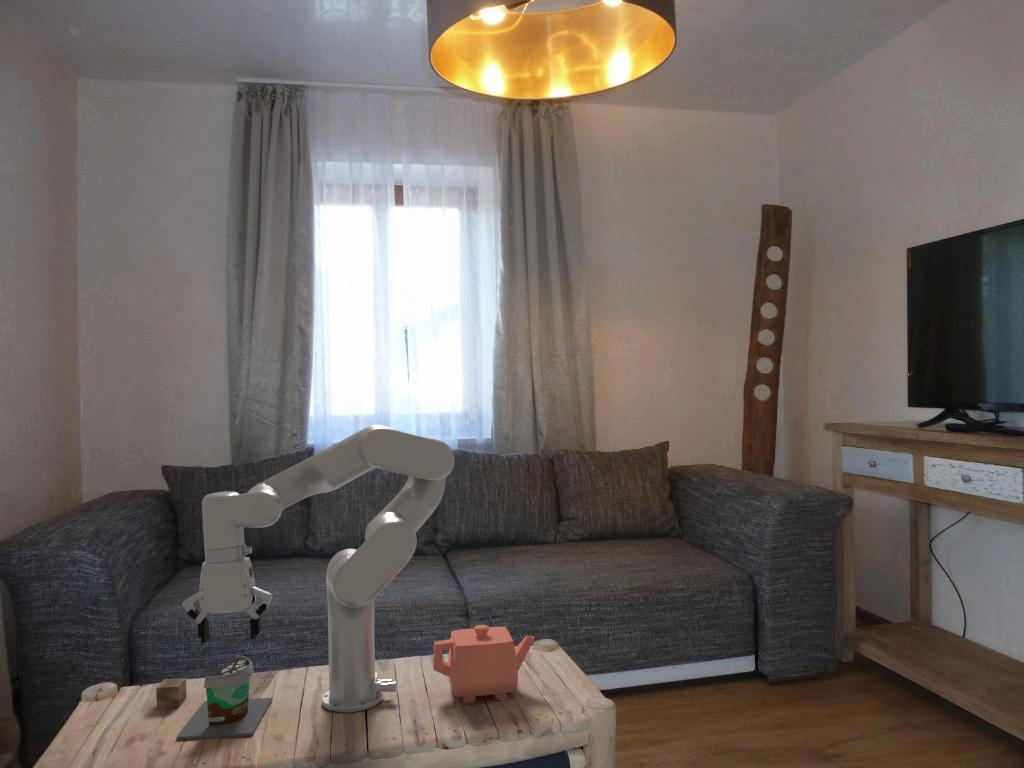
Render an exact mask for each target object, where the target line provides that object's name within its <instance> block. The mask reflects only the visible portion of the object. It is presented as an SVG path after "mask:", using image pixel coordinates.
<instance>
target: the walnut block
mask: <svg viewBox="0 0 1024 768" xmlns="http://www.w3.org/2000/svg"><path fill="white" fill-rule="evenodd" d="M155 690H156V691H155V694H156V696H155V697H156V698H155V699H156V710H161V709H162V710H166V709H179V708H180V707H181V706H182V705H183V704H184V703H185V701H187V677H182V678H167V679H166V678H165V679H163V680H162V681H161V682H160V683H159V684H158V685H157V686H156V689H155Z"/></svg>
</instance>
